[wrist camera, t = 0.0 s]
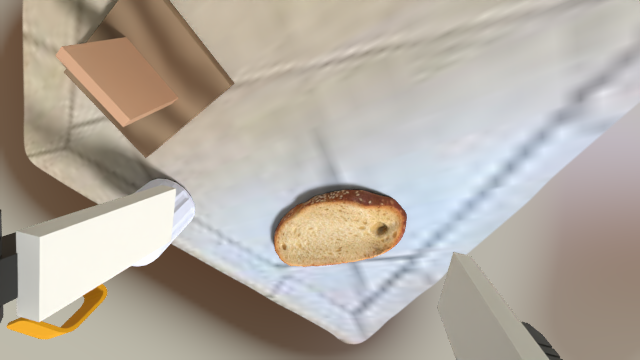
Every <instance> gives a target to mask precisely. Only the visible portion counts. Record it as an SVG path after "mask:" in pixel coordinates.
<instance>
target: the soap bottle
mask: <svg viewBox="0 0 640 360" xmlns="http://www.w3.org/2000/svg"><path fill="white" fill-rule="evenodd" d="M160 185H164V186H169V187H173V188H176V196H175V207H174V217H173V227H172V238H171V241H170V242H169V243H167V244H166V245H164V246H162V247H161V248H159V249H157V250H156V251H154V252H153V253H151V254H149V255H148V256H146V257H145V258H143V259H141V260H140V261H138V262H136V263H135V264H133V265H132V266H143V265H146V264H149V263H151V262H153V261H154V260H155V259H156V258H158V257H159V256H160V254H161V253H162V252H163V251H164V250H165V249H166V248H167V247H168V246H169V245H170V244H171V242H172V241H173V240H174V239H175V238H176V237H177V236H178V235H179V234H180V233H181V231H182V230H183V229H184V228H185V227H186V226H187V225H188V224H189V223H190V222H191V220H192V219H193V216H194V214H195V204H194V202H193V200H192V198H191V196H190V195H189V193H188V192H187V191H186V190H185V189H184V188H183V187H182V186H180V185H179V184H177V183H176V182H173V181H171V180H168V179H155V180H151V181H149V182H148V183H147V184H145V185H144V186H143V187H141V188H140V189H139V190H137V191H136V192H135V193H138V192H141V191H144V190H147V189H150V188H153V187H157V186H160ZM133 194H134V193H133ZM83 296H84V298H85V299H84V303H83V305H82V306H81V308H80V309H79V310H78V311H77V312H76V313H75V314H74V315H73V316H72V317H71V318H69V320H67V321H66V322H65V323H64V325H62V326H61V327H57V326H54V325H51V324H48V323H45V322H42V321H41V322H36V321H33V320H29V319H26V318H23V317H21V318H19V319H16V320H14V321H11V322H9V323H8V325H7V328H8V329H11V330H13V331H17V332H20V333H23V334H26V335H29V336H32V337H35V338H38V339H50V338H53V337H56V336H59V335H62V334H65V333H68V332H71V331H73V330H75V329H76V328H77V327H79V325H80V324H81V323H82V322H83V321H84V320H85V319H86V318H87V317H88V316H89V315H90V314H91V313H92V312H93V311H94V310H95V309H96V308H97V307H98V306H99V305H100V303H102V301H103V300H104V299H105V298H106V296H107V289H106V287H105V286H104V285H103V284H101V285H99V286H97V287H96V288H94V289H93V290H91V291H89V292H88V293H86V294H84V295H83Z"/></svg>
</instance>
